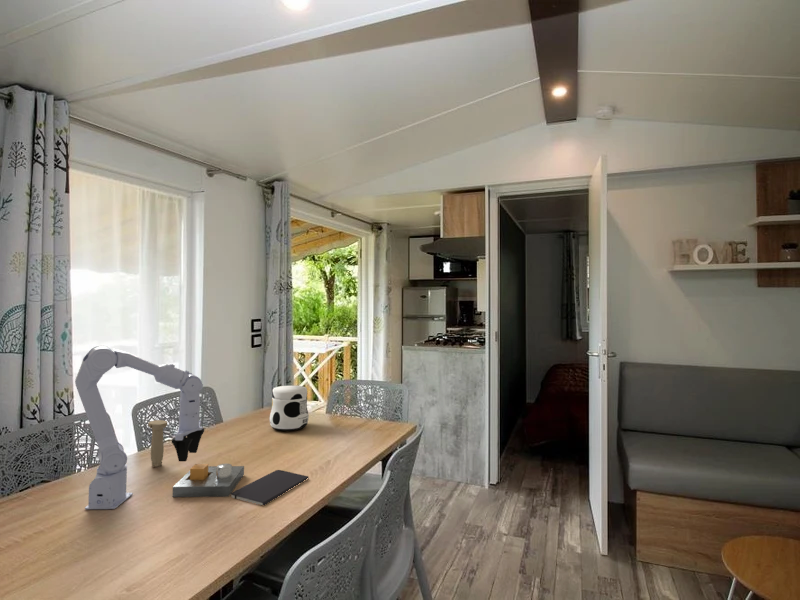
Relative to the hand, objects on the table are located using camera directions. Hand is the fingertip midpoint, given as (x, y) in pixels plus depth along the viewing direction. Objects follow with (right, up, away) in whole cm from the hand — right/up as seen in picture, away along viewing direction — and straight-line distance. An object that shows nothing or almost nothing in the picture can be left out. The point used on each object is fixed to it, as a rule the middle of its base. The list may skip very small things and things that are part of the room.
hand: (188, 456), depth 137 cm
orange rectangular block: (+4, -9, -1) cm, 10 cm away
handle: (-18, -9, +15) cm, 25 cm away
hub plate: (+7, -9, -1) cm, 11 cm away
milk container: (+16, -10, +63) cm, 66 cm away
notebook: (+26, -10, -1) cm, 28 cm away
